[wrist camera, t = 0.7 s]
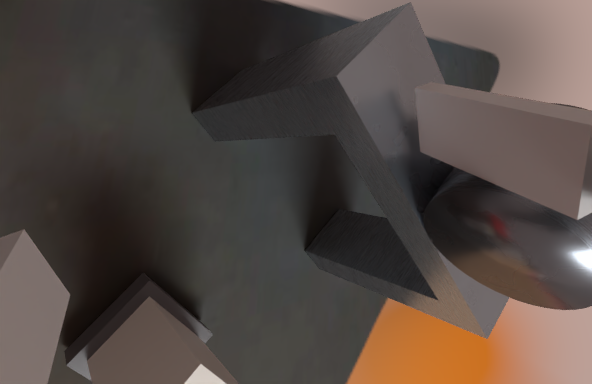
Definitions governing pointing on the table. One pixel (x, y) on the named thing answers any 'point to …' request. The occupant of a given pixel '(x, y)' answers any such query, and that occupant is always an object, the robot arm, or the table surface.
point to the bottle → (146, 342)
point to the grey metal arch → (406, 181)
